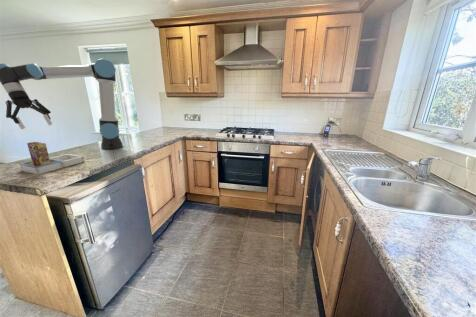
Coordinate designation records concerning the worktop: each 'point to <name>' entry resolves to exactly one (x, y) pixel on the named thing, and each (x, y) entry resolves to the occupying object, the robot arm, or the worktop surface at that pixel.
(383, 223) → the worktop surface
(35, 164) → the candy box
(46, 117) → the robot arm
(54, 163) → the organizer
